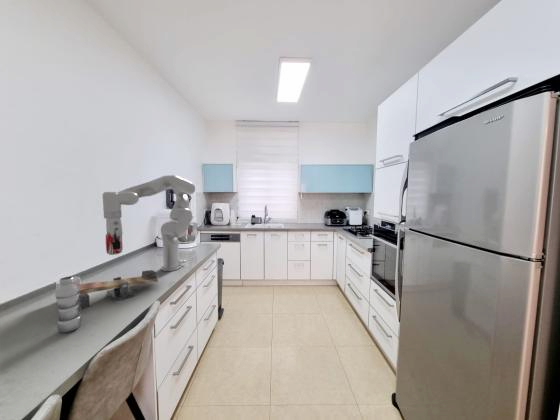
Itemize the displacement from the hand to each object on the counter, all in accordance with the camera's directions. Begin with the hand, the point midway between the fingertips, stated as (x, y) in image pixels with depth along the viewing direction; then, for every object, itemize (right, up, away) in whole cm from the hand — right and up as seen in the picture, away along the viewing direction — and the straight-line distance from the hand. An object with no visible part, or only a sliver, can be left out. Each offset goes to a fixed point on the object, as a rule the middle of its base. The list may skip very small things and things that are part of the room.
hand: (114, 247), depth 117 cm
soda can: (0, -3, 0) cm, 4 cm away
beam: (+10, -16, -8) cm, 21 cm away
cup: (-11, -23, -12) cm, 28 cm away
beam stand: (+6, -23, -13) cm, 27 cm away
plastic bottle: (+11, -25, -35) cm, 45 cm away
